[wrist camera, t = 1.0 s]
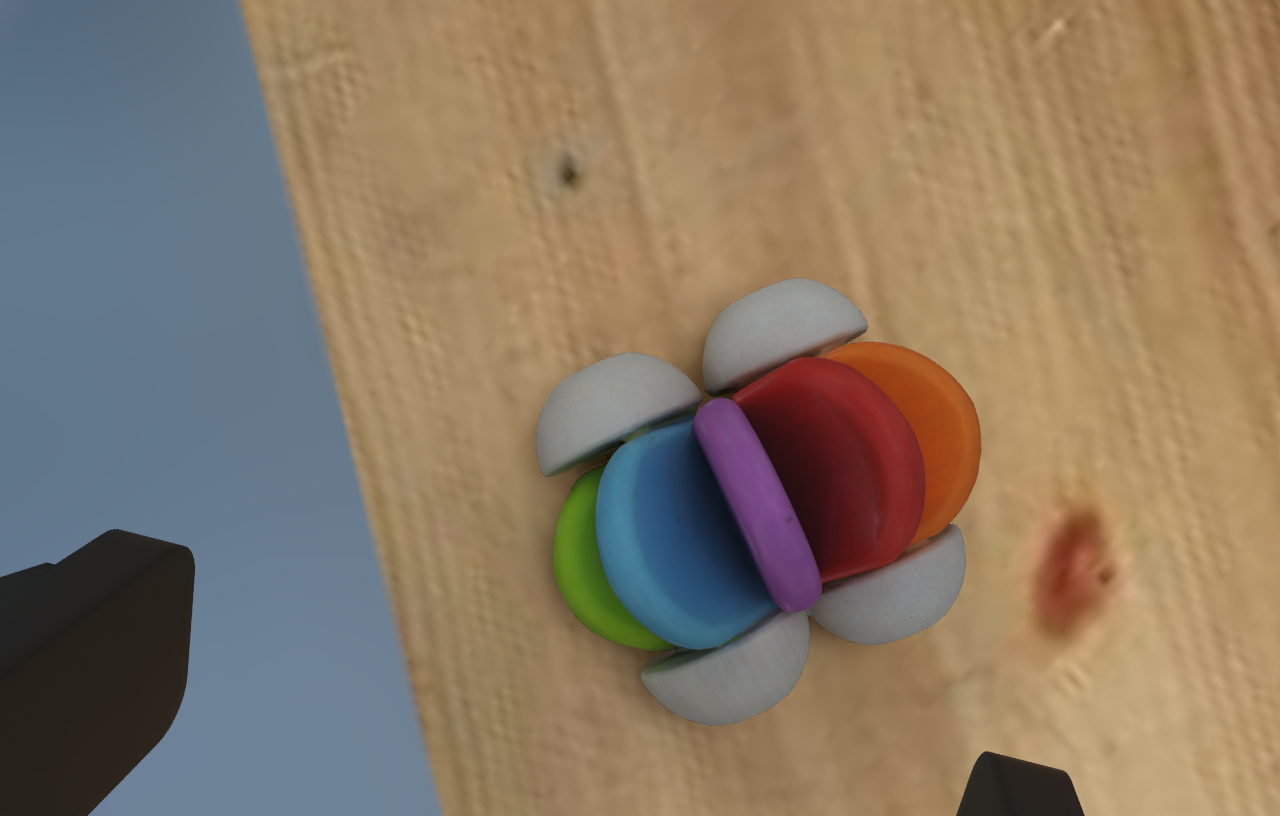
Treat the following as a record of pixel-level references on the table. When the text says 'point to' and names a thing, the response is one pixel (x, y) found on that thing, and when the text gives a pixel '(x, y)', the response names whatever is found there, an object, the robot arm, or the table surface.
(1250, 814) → the table surface
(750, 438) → the rainbow wheeled toy
